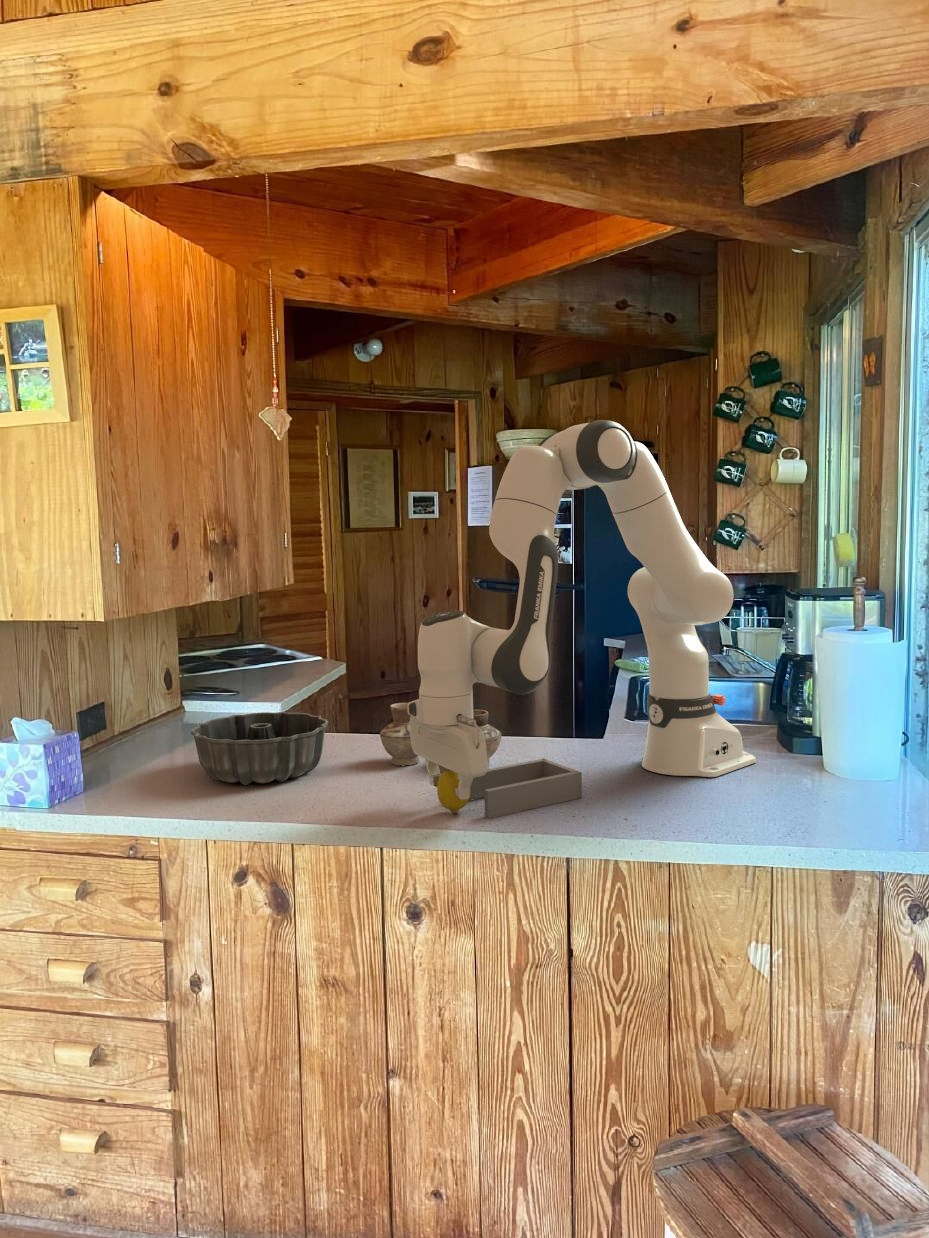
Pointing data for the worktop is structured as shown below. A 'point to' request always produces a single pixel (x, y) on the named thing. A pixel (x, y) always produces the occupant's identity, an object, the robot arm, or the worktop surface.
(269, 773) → the bundt pan
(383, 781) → the worktop surface
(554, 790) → the trough
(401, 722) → the pottery
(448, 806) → the lemon
